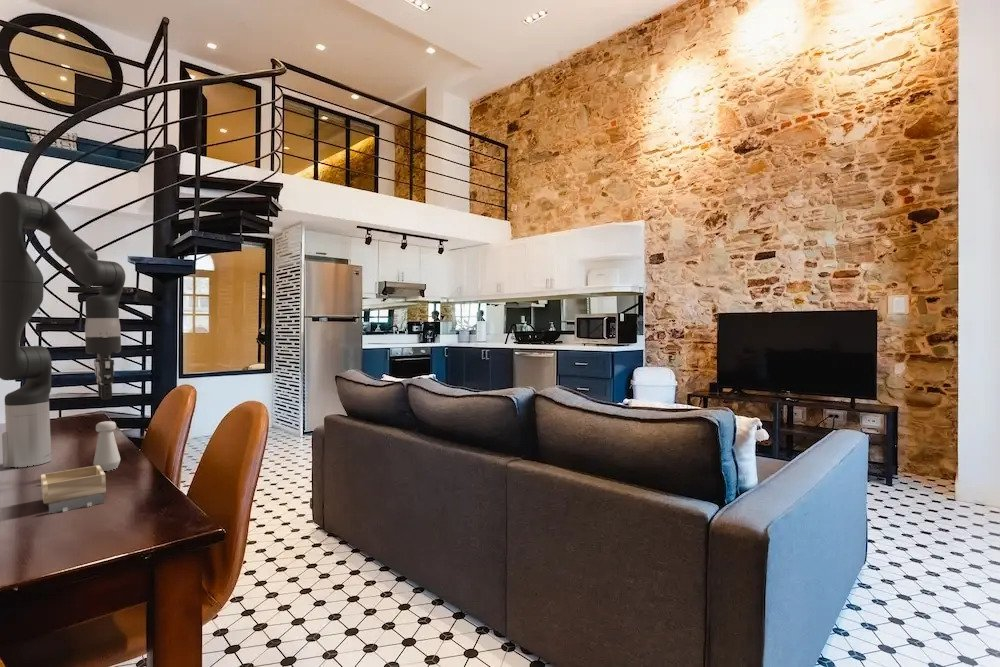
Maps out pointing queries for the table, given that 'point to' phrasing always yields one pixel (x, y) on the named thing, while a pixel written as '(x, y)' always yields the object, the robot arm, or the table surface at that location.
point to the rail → (76, 503)
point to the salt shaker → (106, 447)
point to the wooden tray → (72, 484)
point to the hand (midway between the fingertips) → (105, 397)
